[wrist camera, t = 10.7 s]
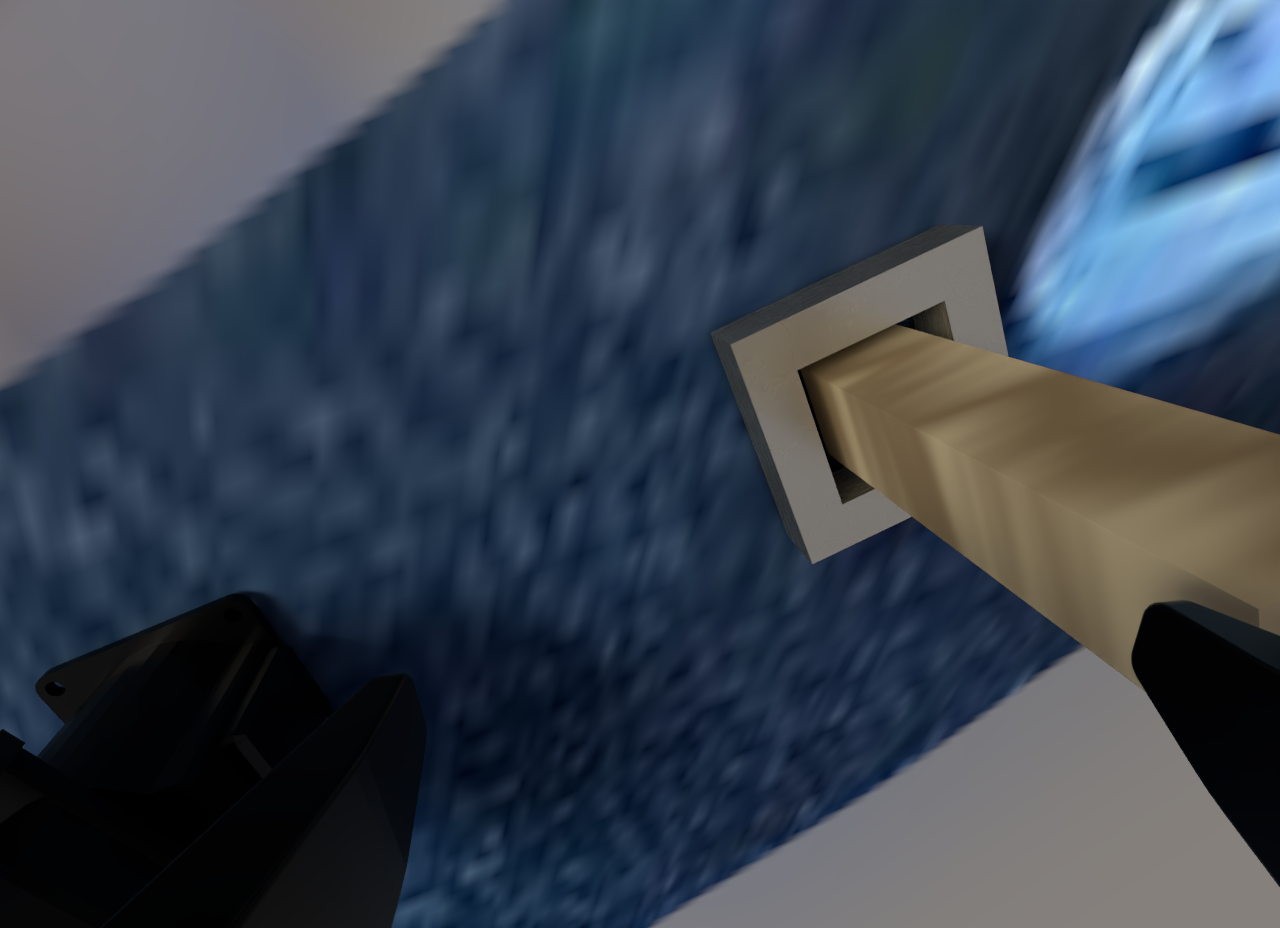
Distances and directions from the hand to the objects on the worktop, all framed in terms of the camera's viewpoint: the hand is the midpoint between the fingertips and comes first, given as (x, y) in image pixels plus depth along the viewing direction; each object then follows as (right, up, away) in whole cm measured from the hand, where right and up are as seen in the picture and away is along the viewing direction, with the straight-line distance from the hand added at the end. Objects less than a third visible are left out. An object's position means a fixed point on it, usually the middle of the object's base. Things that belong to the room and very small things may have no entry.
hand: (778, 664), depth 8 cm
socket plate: (+5, +5, +13) cm, 15 cm away
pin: (+5, +5, +13) cm, 15 cm away
